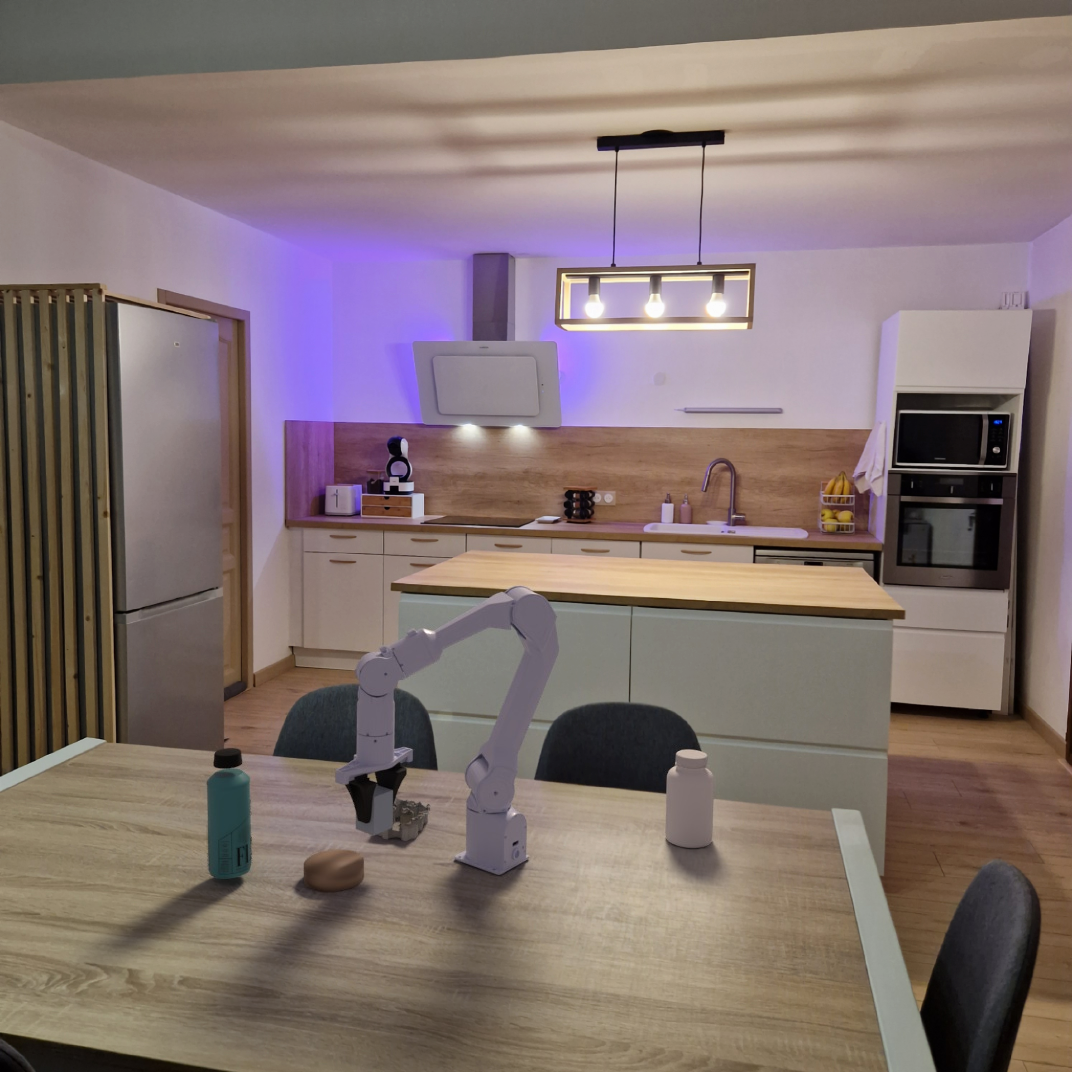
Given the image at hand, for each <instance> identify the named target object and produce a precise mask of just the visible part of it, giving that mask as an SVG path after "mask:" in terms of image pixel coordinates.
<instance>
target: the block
mask: <svg viewBox="0 0 1072 1072" xmlns="http://www.w3.org/2000/svg"><path fill="white" fill-rule="evenodd" d="M393 826H394V824H393V790H391V789H388V788H385V787H382V786H378V785H376V788H375V791H374V795H373V800H372V812H371V820H370V823H367V824H366V823H363V822H360V821H358V819H357V815H356V814H355V830H357V831H359V832H360V831H361V832H363V833H366V834H367V835H371V836H373V837H374V836H378V834H379V833H381V832H384V831H386V830H388V829H391V828H393Z"/></svg>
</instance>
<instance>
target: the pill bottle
mask: <svg viewBox="0 0 1072 1072" xmlns="http://www.w3.org/2000/svg"><path fill="white" fill-rule="evenodd" d="M708 757H709V756H708V754H707V753H706V752H704V751H702V750H701V751H700V750H696V749H681V750H679V751H677V752H676V753H675V761H674V762H675V763H674V766H673V767H671V768H670V769H669V770H668V771H667V772H668V773H667V775H666V792H665V793H666V794H665V795H666V797H665V830H664V831H665V838H666V840H667V841H668V842H669V843H670V844H673V845H675V846H677V847H681V848H685V849H686V848H687V849H688V848H690V849H697V848H704V847H707V846H709V845H710V844H711V842H712V840H713V827H714V799H715V798H714V797H715V795H714V794H715V776H714V774H713V773H712V771H710V769H708V768H707V767H708Z"/></svg>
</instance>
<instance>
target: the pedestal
mask: <svg viewBox="0 0 1072 1072" xmlns="http://www.w3.org/2000/svg"><path fill="white" fill-rule="evenodd" d="M364 878H365V857H364V856H363V855H362V854H361V853H360V852H359V853H358V852H356V851H353V850H349V849H329V850H323V851H320V852H317V853H315V854H314V853H313V854H312V855H310V856H309V857H307V858H306V859H305V860H304V862H303V883H304V885H305V887H307V888H308V889H311V890H313V889H314V890H313V891H316V890H318V891H317V892H323V893H326V892H327V893H333V892H334V891H336V892H340V891H341V890H342V891H346V890H349V889H351V888H352V889H353V888H354V887H356V886H358V885H359V884H361V883H362V881H363V880H364Z"/></svg>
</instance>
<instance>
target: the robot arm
mask: <svg viewBox="0 0 1072 1072" xmlns="http://www.w3.org/2000/svg"><path fill="white" fill-rule="evenodd" d="M557 617H558V616H557V613H556V612H555V611H554V608H553V607H552V606H551V604H550V601H549V600H548V599H547V598H546V597H545V596H543V595H541V594H538V593H536V592H534V591H533V590H532V589H530V588H529V587H527V586H525V585H513V586H511V587H509V588H507V589H506V591H504V592H503V591H500V592H497V593H495V594H493V595H491V596H490V597H489V598H487V599H485V600H483V601H482V602H480V603H478V604H477V605H476V606H474V607H472V608H470V609H469V610H467V611H465V612H463V613H461V614H460V615H458V616H457V617H455V618H452V620H449V621H447V622H446V623H445V624H443V625H441V626H439V627H438V628H436V629H435V630H430V629H427V628H424V627H421V628H420V629H417V630H416V629H415V628H414V627H413V628H410V629H409V630H407V631H406V634H407V635H406V636H404V637H402V638H400V639H398V640H397V641H395V642H393V643H391V644H389V645H387V646H386V645H385V644H382V645H381V646H379V648H378V649H379V651H370V652H368V653H365V654H364V655H362V657H361V658H360V660H359V661H358V662H357V664H356V666H355V667H356V668H354V674H355V675H354V676H355V678H356V680H357V681H358V683H359V685H358V690H357V699H358V700H357V702H356V754H354V755H353V760H351V761H350V762H348V763H346V764H344V766H342V767H339V768H337V769H335V770H334V771H335V772H334V773H335V775H334V782H335V783H336V784H339V785H342V786H345V788H346V790H347V791H348V793H349V795H350V798H351V800H352V803H353V806H354V810H355V816H356V815H357V819H358V821H360V822H363V823H366V824H367V823H370V820H371V812H372V800H373V795H374V791H375V788H376V785H378V786H382V787H385V788H388V789H391V790H393V805H394V802H395V798H397V794H398V792H399V789H400V787H401V785H402V783H403V781H404V779H405V778H406V776H407V773H408V771H407V770H408V768H407V767H405V766H402V765H401V764H402V763H404V762H406V763H410V762H413V759H414V758H413V757H414V755H413V754H414V753H413V752H414V749H412V748H409V747H405V746H402V747H399V748H395V722H396V721H395V719H396V718H395V713H396V707H395V706H396V705H395V704H396V703H395V700H394V697H395V696H394V694H395V693H394V691H395V689H396V687H397V686H398V684H399V681H403V680H405V679H408V678H409V677H411V676H413V675H415V674H416V673H418V672H420V671H422V670H424V669H426V668H429V667H430V666H432V665H434V664H436V663H437V662H439V661H440V660H441V657H442V654H443V651H444V650H445V649H447V648H449V647H451V646H454V645H455V644H458V643H459V642H461V641H464V640H466V639H468V638H471V637H472V636H474V635H476V634H478V633H481V632H483V631H484V630H487V629H490V628H492V629H501V630H506V631H511V630H512V628H513V629H514V630H515V631H516V634H517V636H518V638H519V640H520V642H521V644H522V647H523V649H524V651H523V654H522V656H521V658H520V660H519V661H520V662H519V664H518V666H517V668H516V672H515V674H514V676H513V678H512V681H511V683H510V686H509V689H508V691H507V694H506V696H505V698H504V701H503V703H502V706H501V708H500V710H499V713H498V715H497V718H496V721H495V723H494V725H493V728H492V731H491V733H490V736H489V737H488V740H486V741H485V742H484V743H483V744H482V745H481V746H480V747H479V749H478V753H477V754H476V756H475V757H474V758H472V759H471V760H470V761H469V763H468V764H467V766H466V767H465V770H464V781H465V783H466V786H468V788H469V789H470V793H469V795H468V797H467V799H466V800H465V801H466V807H465V811H466V815H465V819H466V820H465V850H463V851H461V852H459V853H457V854H455V855H454V857H453V859H454V860H456V861H458V862H461V863H464V864H465V865H466V864H467V865H470V866H471V867H475V868H478V869H480V870H483V871H486V872H489V873H491V874H493V875H496V876H500V875H502V874H503V875H504V874H505V873H506V872H508V871H510V870H512V869H513V868H514V867H516V866H518V865H520V864H522V863H524V862H525V861H527V860H529V859H530V855H529V854H527V839H528V838H527V837H528V836H527V831H528V827H527V826H528V825H527V819H526V817H525V815H524V814H523V813H522V812H519V811H518V810H517V809H515V808H514V807H513V804H512V801H513V799H514V797H515V791H516V790H515V782H516V781H515V780H516V777H517V774H518V771H519V770H518V768H519V766H518V765H519V764H518V763H519V760H518V758H519V753H520V750H521V747H522V744H523V743H524V739H525V738H526V735H527V732H528V730H529V728H530V725H531V722H532V720H533V718H534V715H535V712H536V710H537V708H538V706H539V703H540V700H541V698H542V695H543V692H544V691H545V688H546V687H547V682H548V680H549V678H550V675H551V673H552V670H553V668H554V666H555V663H556V660H557V659H558V656H559V652H560V646H559V638H558V632H557V624H556V622H557ZM511 627H512V628H511ZM371 774H374V776H375V780H376V781H374V780H371V778H370V777H369V776H368V775H371Z"/></svg>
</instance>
